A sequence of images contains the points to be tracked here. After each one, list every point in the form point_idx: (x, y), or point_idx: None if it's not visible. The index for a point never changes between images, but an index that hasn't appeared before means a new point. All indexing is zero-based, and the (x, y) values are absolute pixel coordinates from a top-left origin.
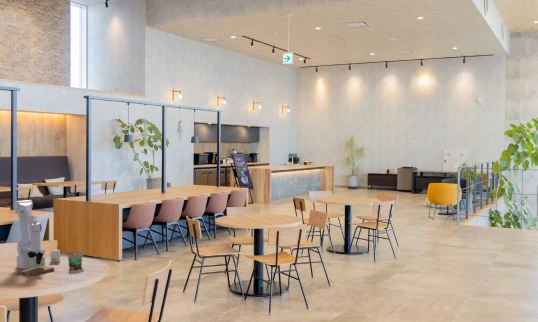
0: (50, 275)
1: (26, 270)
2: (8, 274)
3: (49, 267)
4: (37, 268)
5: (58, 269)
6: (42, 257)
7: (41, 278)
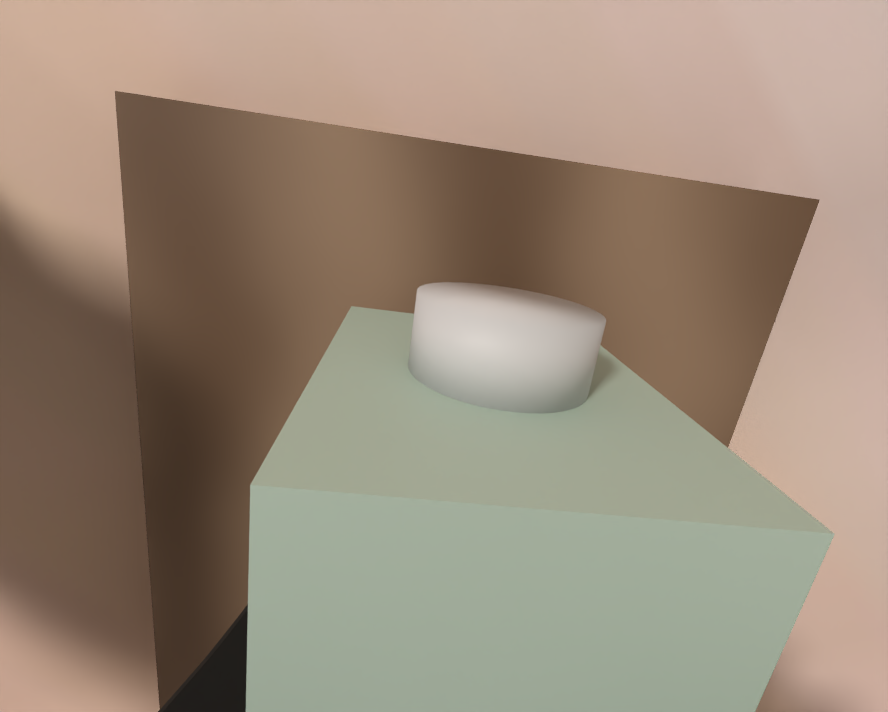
0: (875, 544)
1: None
2: (66, 704)
3: (674, 231)
4: None
5: (802, 19)
6: (737, 658)
7: (815, 708)
